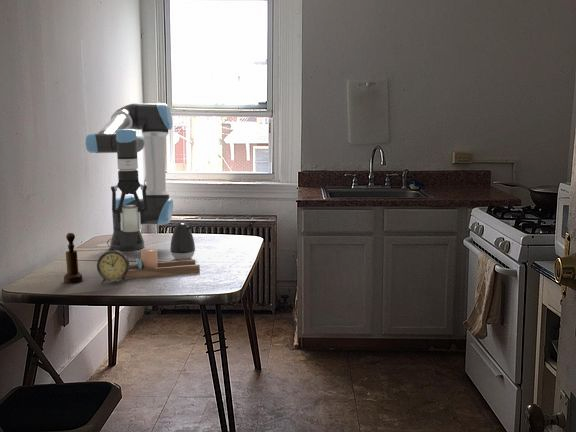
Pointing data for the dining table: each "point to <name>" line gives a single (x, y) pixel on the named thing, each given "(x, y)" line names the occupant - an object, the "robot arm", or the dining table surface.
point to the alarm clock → (113, 265)
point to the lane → (164, 269)
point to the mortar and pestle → (72, 262)
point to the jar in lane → (149, 258)
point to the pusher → (139, 264)
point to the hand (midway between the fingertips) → (130, 229)
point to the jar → (130, 218)
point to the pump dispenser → (182, 242)
